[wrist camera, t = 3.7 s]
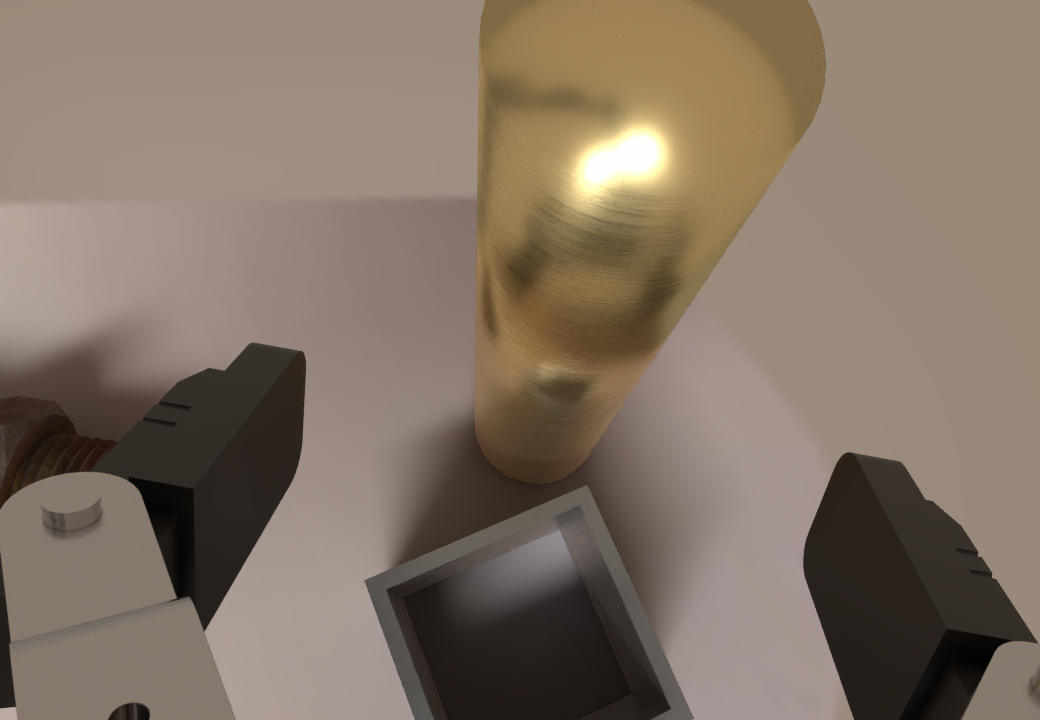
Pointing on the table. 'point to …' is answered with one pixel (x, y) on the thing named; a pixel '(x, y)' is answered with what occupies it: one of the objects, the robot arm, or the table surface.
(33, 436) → the bolt
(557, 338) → the tall amber cylinder
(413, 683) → the open square box
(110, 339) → the table surface
